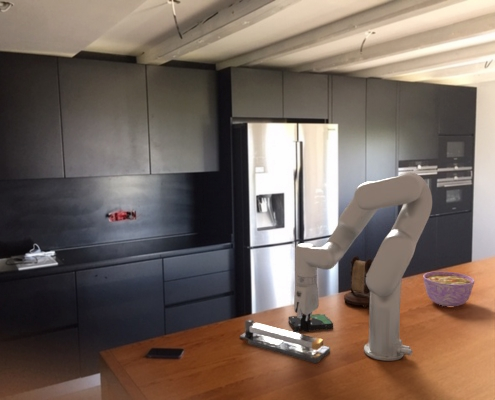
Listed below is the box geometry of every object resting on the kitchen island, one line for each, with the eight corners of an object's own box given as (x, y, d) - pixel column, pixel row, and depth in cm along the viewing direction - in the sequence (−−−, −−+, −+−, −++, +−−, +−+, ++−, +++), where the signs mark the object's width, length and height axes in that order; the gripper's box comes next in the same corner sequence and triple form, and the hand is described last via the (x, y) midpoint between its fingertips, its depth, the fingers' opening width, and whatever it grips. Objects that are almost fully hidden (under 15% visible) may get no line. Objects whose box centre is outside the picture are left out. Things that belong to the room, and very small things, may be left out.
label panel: (329, 351, 156) (329, 346, 155) (316, 363, 147) (316, 358, 147) (251, 330, 174) (251, 326, 173) (235, 340, 165) (235, 335, 165)
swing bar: (323, 350, 154) (323, 336, 153) (317, 355, 150) (317, 341, 150) (249, 331, 170) (249, 318, 170) (242, 334, 167) (242, 321, 166)
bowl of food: (476, 301, 202) (477, 275, 201) (469, 316, 185) (471, 287, 184) (427, 293, 213) (428, 269, 211) (417, 307, 196) (418, 280, 195)
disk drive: (295, 333, 172) (333, 330, 175) (295, 326, 172) (333, 322, 174) (288, 323, 182) (324, 319, 185) (287, 316, 182) (324, 312, 184)
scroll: (337, 302, 203) (337, 257, 200) (356, 295, 213) (357, 251, 210) (366, 311, 192) (367, 263, 189) (385, 303, 202) (387, 257, 199)
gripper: (305, 286, 154) (304, 340, 156) (325, 276, 166) (324, 325, 168) (285, 283, 158) (285, 335, 161) (306, 272, 170) (306, 321, 173)
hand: (305, 330), depth 165 cm, fingers closed
